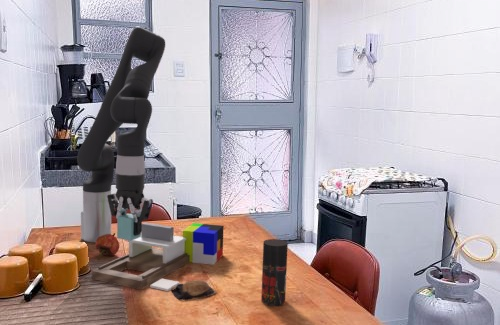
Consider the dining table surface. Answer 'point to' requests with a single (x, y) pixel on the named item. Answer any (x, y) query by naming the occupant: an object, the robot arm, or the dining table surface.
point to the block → (126, 227)
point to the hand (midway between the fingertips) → (129, 233)
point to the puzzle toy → (204, 243)
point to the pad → (164, 284)
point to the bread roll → (193, 290)
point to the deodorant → (274, 272)
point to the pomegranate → (107, 245)
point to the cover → (158, 241)
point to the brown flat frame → (139, 268)
